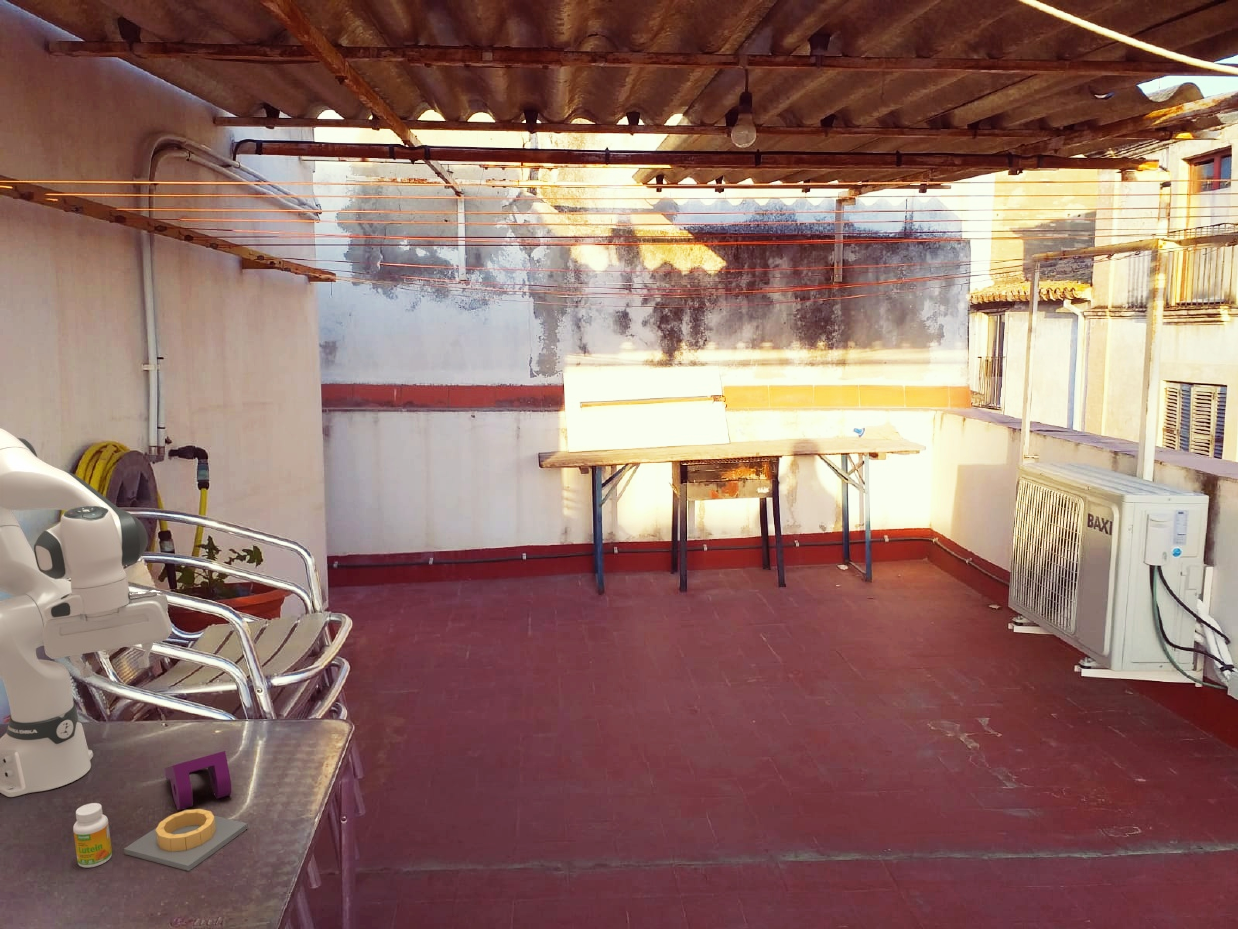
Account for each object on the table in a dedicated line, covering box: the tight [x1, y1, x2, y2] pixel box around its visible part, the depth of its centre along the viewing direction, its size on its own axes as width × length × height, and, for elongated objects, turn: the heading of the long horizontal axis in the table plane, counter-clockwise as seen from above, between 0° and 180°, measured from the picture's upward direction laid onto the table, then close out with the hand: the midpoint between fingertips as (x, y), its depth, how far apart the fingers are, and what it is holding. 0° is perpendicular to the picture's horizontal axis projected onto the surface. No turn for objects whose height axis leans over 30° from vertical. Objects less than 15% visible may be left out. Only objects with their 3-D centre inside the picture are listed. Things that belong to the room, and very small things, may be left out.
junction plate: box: [123, 808, 249, 872], centre depth 173 cm, size 15×14×4 cm
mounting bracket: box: [164, 750, 232, 811], centre depth 191 cm, size 9×8×18 cm
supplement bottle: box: [72, 802, 113, 869], centre depth 168 cm, size 5×5×10 cm
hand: (116, 672), depth 172 cm, fingers open, 8 cm apart
